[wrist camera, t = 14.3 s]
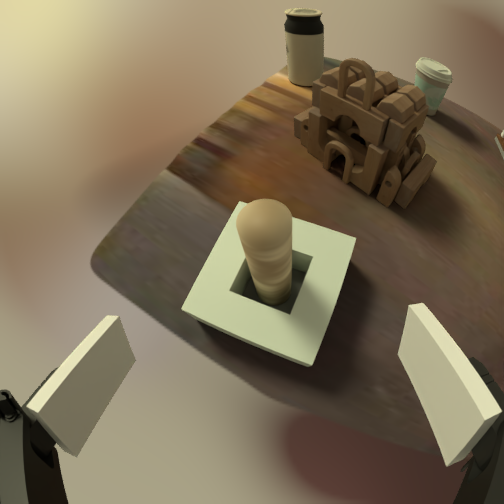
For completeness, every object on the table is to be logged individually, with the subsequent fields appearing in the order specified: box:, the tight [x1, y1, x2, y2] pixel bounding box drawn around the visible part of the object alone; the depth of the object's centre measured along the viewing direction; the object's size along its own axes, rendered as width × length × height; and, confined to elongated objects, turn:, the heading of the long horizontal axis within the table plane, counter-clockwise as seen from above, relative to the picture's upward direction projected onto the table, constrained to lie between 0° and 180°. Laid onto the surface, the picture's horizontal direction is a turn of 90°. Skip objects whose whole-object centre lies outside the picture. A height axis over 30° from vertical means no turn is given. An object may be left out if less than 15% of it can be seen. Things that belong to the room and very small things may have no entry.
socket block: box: [181, 201, 356, 367], centre depth 30 cm, size 14×14×5 cm
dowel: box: [236, 199, 292, 306], centre depth 25 cm, size 4×4×14 cm
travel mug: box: [284, 8, 324, 86], centre depth 44 cm, size 8×8×18 cm
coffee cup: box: [415, 58, 452, 116], centre depth 40 cm, size 8×8×12 cm
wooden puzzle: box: [294, 58, 437, 209], centre depth 32 cm, size 22×15×19 cm, turn 41°
